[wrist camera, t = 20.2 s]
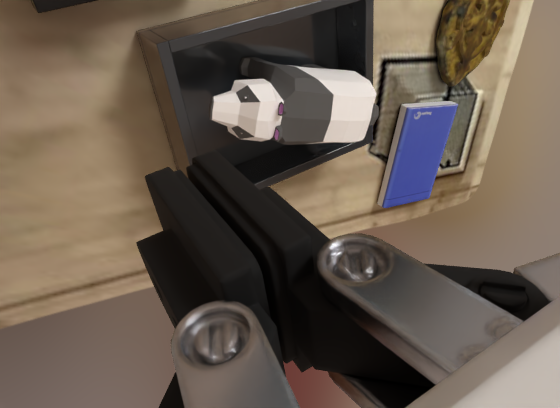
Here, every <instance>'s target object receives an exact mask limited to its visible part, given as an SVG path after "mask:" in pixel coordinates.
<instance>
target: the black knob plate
mask: <svg viewBox="0 0 560 408" xmlns="http://www.w3.org/2000/svg"><path fill="white" fill-rule="evenodd" d="M92 1H97V0H31V2H32V4H33V7H34V8H35V9H36V11H37V12H38V13H42V12H47V11H51V10H56V9H60V8H65V7H69V6H74V5H79V4H83V3H88V2H92Z"/></svg>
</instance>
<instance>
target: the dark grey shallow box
mask: <svg viewBox="0 0 560 408" xmlns="http://www.w3.org/2000/svg"><path fill="white" fill-rule="evenodd" d="M373 5H374V0H258V1H254V2H250V3H246V4H242V5H238V6H234V7H230V8H226V9H222V10H218V11H214V12H210V13H206V14H202V15H198V16H194V17H190V18H186V19H182V20H178V21H174V22H170V23H166V24H162V25H158V26H154V27H150V28H146V29H142V30H138V31H136V33H137V36H138V39H139V43H140V46H141V49H142V53H143V56H144V59H145V63H146V66H147V69H148V73H149V76H150V80H151V83H152V86H153V90H154V93H155V96H156V100H157V103H158V106H159V110H160V113H161V117H162V120H163V123H164V127H165V130H166V133H167V137H168V140H169V143H170V147H171V150H172V154H173V157H174V160H175V164H176V167H177V170H181V171H182V172H183V173H184V174H185V175H186V177H187V178H188V175H187V171H186V167H188V166H190V165H193V164H192V158H194V157H196V156H199V155H202V154H204V153H207V152H210V151H212V150H216V151H218V152H219V153H220V154H221V155H222V156H223V157H224V158H225V159H226V160H228V161H229V162H230V163H231V164H232V165H233V166H234V167H235V168H236V169H237V170H238V171H240V172H241V173H242V174H243V175H244V176H245V177H246V178H247V179H248V180H249V181H250V182H252V183H253V184H254V185H255V186H256V187H257V188H258V189H259V190H260V189H262V188H265V187H268V186H271V185H273V184H275V183H278V182H280V181H282V180H285V179H287V178H289V177H292V176H294V175H296V174H299V173H301V172H303V171H306V170H308V169H310V168H313V167H315V166H317V165H320V164H322V163H324V162H327V161H329V160H332V159H334V158H336V157H339V156H341V155H343V154H346V153H348V152H350V151H353V150H355V149H357V148H360V147H362V146H364V145H366V144H369V143H371V142H372V131H373V124H372V125H370V126H368V129H367V132H366V135H365V137H364V139H363V140H361V141H357V142H352V143H336V142H333V143H313V144H296V145H286V144H281V143H279V142H276V141H274V140H272V139H270V140H265V141H252V140H243V139H239V138H237V137H236V136H234V135H233V134H231V133H230V132H228V128H227V126H225V125H223V124H220V123H218V122H215V121H213V120H210V119H209V111H208V107H209V104H210V102H211V99H212V98H213V97H214V96H216V95H219V94H222V93H225V92H228V91H231V89H232V86H233V84H234V81H235V80H248V79H255V78H252V77H248V76H245V75H242V74H240V71H239V63H240V61H241V58H242V57H257V58H260V59H262V60H265V61H268V62H272V63H275V64H282V65H291V66H299V67H301V66H302V65H305V64H315V65H318V66H321V67H324V68H328V69H339V70H348V71H355V72H357V73H358V74H360V75H361V76H363V77H364V78H366V79H367V80H369V81H370V82H371V84H372V86H373Z"/></svg>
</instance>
